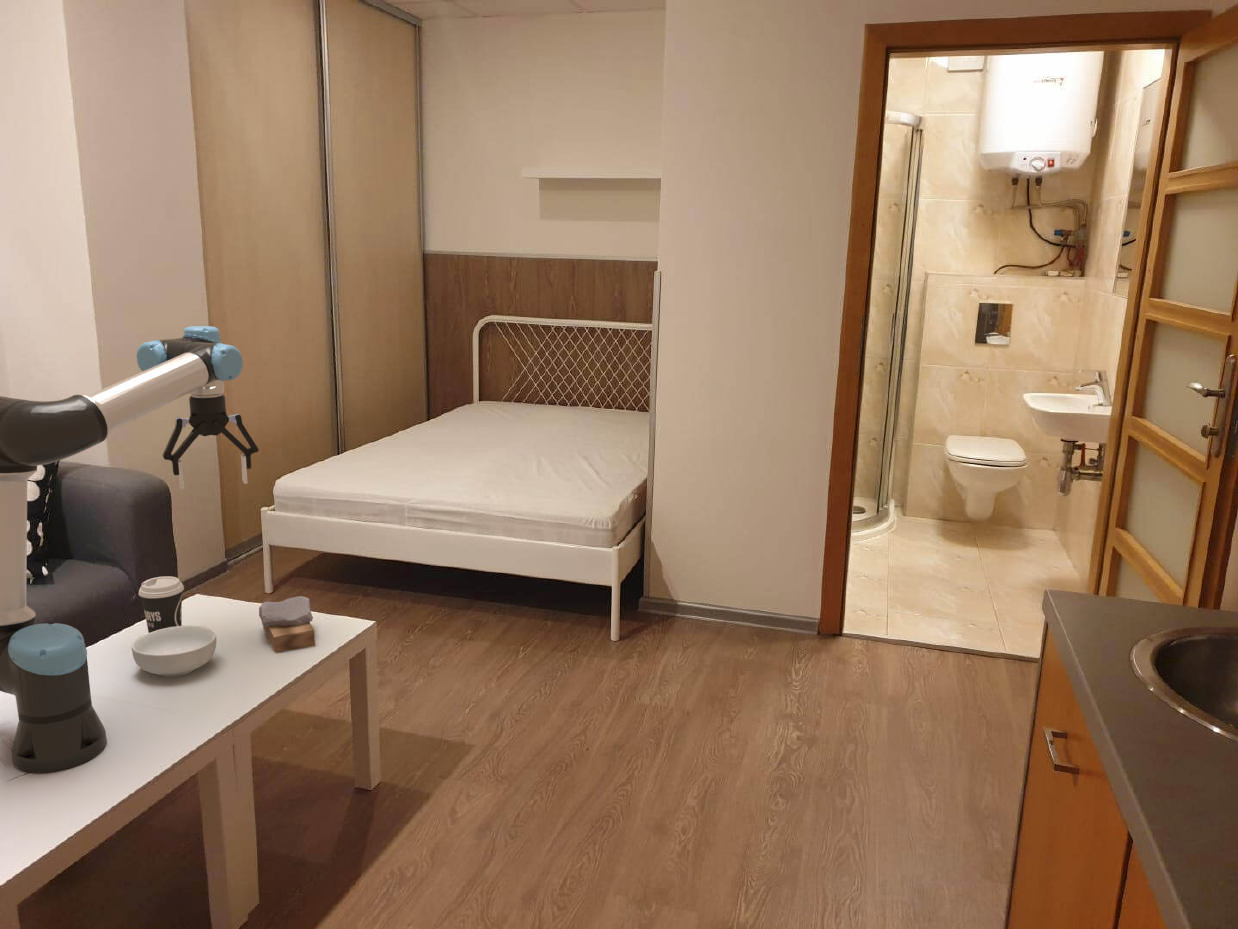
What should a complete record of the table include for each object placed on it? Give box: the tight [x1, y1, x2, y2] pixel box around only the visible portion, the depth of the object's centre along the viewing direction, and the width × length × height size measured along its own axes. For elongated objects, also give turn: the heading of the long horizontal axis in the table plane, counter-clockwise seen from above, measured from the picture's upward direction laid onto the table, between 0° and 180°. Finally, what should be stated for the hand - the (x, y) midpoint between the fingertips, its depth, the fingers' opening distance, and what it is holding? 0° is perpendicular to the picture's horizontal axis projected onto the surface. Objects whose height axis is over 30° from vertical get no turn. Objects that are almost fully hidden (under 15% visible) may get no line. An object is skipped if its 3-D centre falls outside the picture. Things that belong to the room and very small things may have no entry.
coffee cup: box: [138, 575, 185, 633], centre depth 222 cm, size 10×10×15 cm
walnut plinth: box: [262, 622, 316, 654], centre depth 228 cm, size 9×16×4 cm, turn 29°
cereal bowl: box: [131, 625, 217, 678], centre depth 210 cm, size 17×17×7 cm
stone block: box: [258, 595, 314, 627], centre depth 228 cm, size 12×5×10 cm
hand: (214, 485), depth 222 cm, fingers open, 13 cm apart
